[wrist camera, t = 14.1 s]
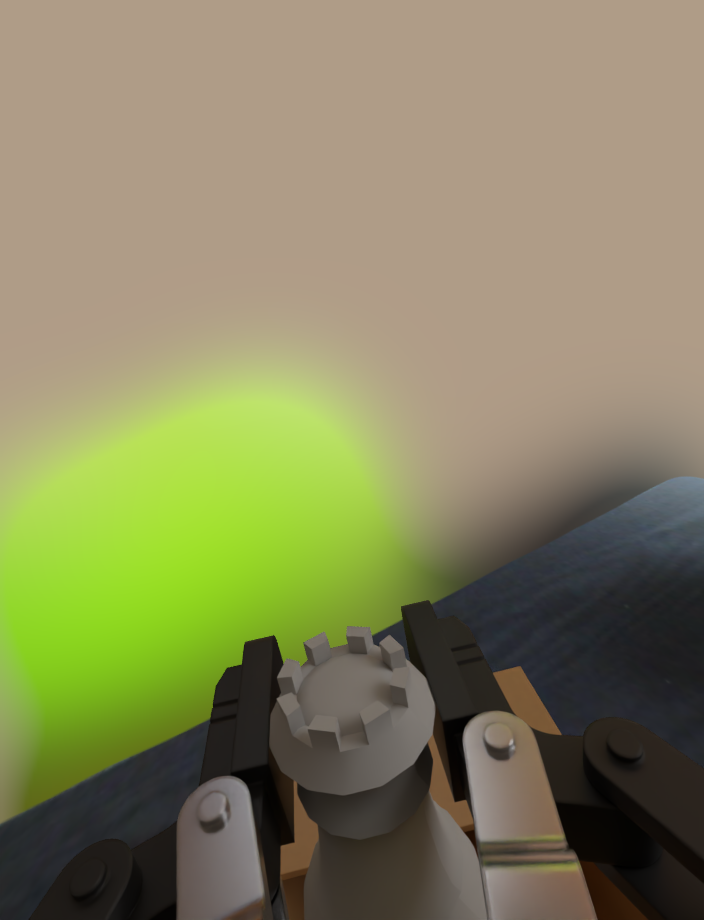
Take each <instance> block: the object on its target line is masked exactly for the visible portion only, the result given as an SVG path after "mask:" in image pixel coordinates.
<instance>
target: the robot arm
mask: <svg viewBox="0 0 704 920" xmlns="http://www.w3.org/2000/svg"><path fill="white" fill-rule="evenodd" d="M401 611H402V617H403V623H404V629H405V635H406V641H407V646H408V652H409V657H410V662H411V664H412V665H413V666H414V667H415V668H416V669H417V670H418V671H420V672H421V673H422V674H423V675H424V676H425V677H426V678H427V680H428V683H429V686H430V688H431V691H432V694H433V697H434V700H435V703H436V711H435V718H434V726H433V736H434V740H435V743H436V746H437V749H438V752H439V755H440V758H441V761H442V765H443V768H444V771H445V774H446V777H447V780H448V783H449V786H450V789H451V793H452V796H453V799H454V802H459V801H463V800H466V801H467V804H468V807H469V810H470V812H471V815H472V818H473V823H474V831H475V838H476V845H477V852H478V859H479V866H480V873H481V879H482V886H483V893H484V900H485V907H486V914H487V920H598V919H597V916H596V913H595V909H594V906H593V903H592V900H591V897H590V893H589V890H588V887H587V884H586V880H585V877H584V874H583V871H582V868H581V865H580V862H579V861H585V862H593V863H594V864H595V865H596V866H597V867H598V869H599V870H600V871H601V872H602V873H603V874H604V875H605V876H606V877H607V878H608V879H609V880H610V881H611V882H612V883H613V884H614V885H615V886H616V887H617V888H618V889H619V890H620V891H621V892H622V893H623V894H624V895H625V896H626V897H627V899H628V900H629V901H630V902H631V903H632V904H633V905H634V906H635V907H636V908H637V909H638V910H639V911H640V912H641V913H642V914H643V915H644V916H645V917H646V918H647V919H648V920H704V768H702V767H701V766H700V765H698V764H697V763H695V762H694V761H692V760H691V759H690V758H688V757H687V756H685V755H684V754H683V753H681V752H680V751H678V750H677V749H675V748H674V747H673V746H671V745H670V744H668V743H667V742H665V741H664V740H663V739H661V738H660V737H658V736H657V735H656V734H654V733H653V732H651V731H650V730H648V729H647V728H645V727H644V726H642V725H640V724H638V723H636V722H634V721H631V720H628V719H623V718H617V717H607V718H602V719H599V720H596V721H594V722H593V723H591V724H590V725H589V726H588V727H587V728H586V730H585V732H584V735H583V736H570V735H556V734H549V733H545V732H541V731H539V730H536V729H534V728H532V727H530V726H528V725H527V723H525V722H524V721H523V720H522V719H520V718H519V717H517V716H516V714H515V713H514V712H513V710H512V709H511V707H510V705H509V703H508V701H507V699H506V698H505V696H504V694H503V692H502V690H501V688H500V686H499V684H498V682H497V680H496V678H495V676H494V674H493V673H492V671H491V669H490V667H489V665H488V663H487V661H486V659H484V655H483V653H482V651H481V650H480V648H479V646H478V645H477V642H476V640H475V638H474V636H473V634H472V632H471V630H470V628H469V627H468V626H467V625H465V624H464V623H463V622H461V621H460V620H459V619H458V618H456V617H455V616H450V617H446V618H442V619H437V617H436V615H435V612H434V610H433V608H432V606H431V603H430V602H429V601H428V600H427V601H422V602H418V603H414V604H409V605H405V606H401ZM283 665H284V664H283V660H282V657H281V653H280V650H279V647H278V643H277V640H276V638H275V636H274V635H273V636H269V637H265V638H260V639H256V640H251V641H247V642H245V644H244V651H243V660H242V665H238V666H233V667H230V668H227V669H226V670H225V672H224V674H223V676H222V677H221V679H220V680H219V682H218V684H217V685H216V689H215V695H214V700H213V708H212V712H211V718H210V724H209V730H208V736H207V742H206V748H205V754H204V759H203V765H202V771H201V777H200V783H199V787H198V788H197V789H196V790H195V791H194V792H193V793H192V794H191V795H190V796H189V797H188V799H187V800H186V802H185V803H184V805H183V807H182V808H181V811H180V813H179V816H178V820H177V821H176V822H175V823H174V824H173V825H171V826H170V827H169V828H167V829H166V830H164V831H163V832H161V833H159V834H158V835H156V836H154V837H152V838H151V839H149V840H147V841H146V842H144V843H142V844H140V845H139V846H137V847H135V848H134V849H132V850H130V848H129V847H128V845H127V844H126V843H125V842H123V841H121V840H118V839H106V840H102V841H99V842H97V843H94V844H92V845H90V846H89V847H87V848H85V849H84V850H83V851H81V852H80V853H79V854H78V855H76V856H75V857H74V858H73V859H72V860H71V861H70V862H69V863H68V864H67V865H66V867H65V868H64V869H63V870H62V872H61V873H60V874H59V876H58V877H57V879H56V880H55V882H54V883H53V885H52V886H51V888H50V889H49V891H48V892H47V893H46V895H45V896H44V898H43V899H42V901H41V902H40V904H39V905H38V907H37V908H36V910H35V911H34V912H33V914H32V915H31V917H30V918H29V920H289V914H288V909H287V903H286V898H285V892H284V887H283V882H282V878H281V876H280V872H281V846H283V845H287V844H291V843H295V833H294V780H293V779H291V778H290V777H288V776H287V775H286V774H284V773H283V772H281V770H280V768H279V766H278V764H277V762H276V760H275V758H274V756H273V753H272V751H271V749H270V747H269V730H270V715H271V712H272V710H273V708H274V706H275V704H276V702H277V699H276V698H279V696H280V694H281V690H280V687H279V683H278V680H277V677H278V675H279V673H280V671H281V669H282V667H283Z"/></svg>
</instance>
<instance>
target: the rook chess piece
mask: <svg viewBox="0 0 704 920" xmlns="http://www.w3.org/2000/svg"><path fill="white" fill-rule="evenodd" d="M346 636H347V641H348V644H346V645H342V646H338V647H333V648H330V646H329V642H328V639H327V637H326V634H325V632H323V633H321V634H319V635H317V636H315V637H313V638H311V639H309V640H307V641H306V642H304V647H305V651H306V655H307V658H308V660H307V661H306V662H305V663H304V664H303V665H302V666H301V667H300V664H299V662H298V661H294V660H290V659H286V661H285V663H284V665H283V667H282V669H281V671H280V673H279V675H278V677H277V680H278V683H279V687H280V690H281V694H280V696H279V698H276V699H277V702H276V704H275V706H274V708H273V710H272V712H271V715H270V730H269V747H270V749H271V751H272V753H273V756H274V758H275V760H276V762H277V764H278V766H279V768H280V770H281V772H283V773H284V774H286V775H287V776H288V777H290V778H291V779H293V780H294V781H296V782H297V795H298V797H299V799H300V801H301V803H302V805H303V807H304V809H305V811H306V813H307V815H308V817H309V818H310V819H311V820H312V821H314V822H315V823H316V824H318V834H319V839H318V841H317V843H316V844H315V848H314V851H313V854H312V858H311V861H310V864H309V868H308V871H307V874H306V878H305V882H304V920H487V914H486V907H485V900H484V893H483V886H482V879H481V873H480V866H479V860H478V857H477V854H476V851H475V848H474V846H473V844H472V843H471V841H470V840H469V838H468V837H467V836H466V834H465V833H464V832H463V831H462V829H461V828H460V827H459V825H458V824H457V823H456V822H455V820H454V819H453V818H452V817H451V815H450V814H449V813H448V811H446V810H445V809H443V808H441V807H440V806H439V805H438V804H437V803H436V802H435V801H434V800H433V799H432V796H431V793H430V791H429V789H430V784H431V776H432V768H433V758H432V755H431V751H430V748H429V745H428V741H429V739H430V738H431V736H432V733H433V726H434V718H435V711H436V703H435V700H434V697H433V694H432V691H431V688H430V686H429V683H428V680H427V678H426V677H425V676H424V675H423V674H422V673H421V672H420V671H418V670H417V669H416V668H415V667H414V666H413V665H412V664H411V663H410V662H409V661H408V660H406V659H405V653H404V648H403V647H402V646H401V645H400V644H399V643H397V642H396V641H395V640H394V639H393V638H392V637H391V636H390V635H389V636H387V637H386V638H385V639H384V640H382V641H381V642H380V643H379V644H380V647H378V646H375V645H373V640H372V635H371V631H370V627H352V626H348V627H347V635H346Z"/></svg>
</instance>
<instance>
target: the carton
mask: <svg viewBox="0 0 704 920" xmlns="http://www.w3.org/2000/svg"><path fill="white" fill-rule="evenodd" d="M493 674H494V676H495V678H496V680H497V682H498V684H499V686H500V688H501V690H502V692H503V694H504V696H505V698H506V699H507V701H508V703H509V705H510V707H511V709H512V710H513V712H514V713H515V714H516V716H517V717H519V718H520V719H522V720H523V721H524V722H525V723H527V725H528V726H530V727H532V728H534V729H536V730H539V731H541V732H545V733H549V734H556V735H561V733H560V731H559V730H558V728H557V726H556V725H555V723H554V721H553V720H552V718H551V716H550V715H549V713H548V711H547V710H546V708H545V706H544V705H543V703H542V701H541V700H540V698H539V697H538V695H537V693H536V692H535V690H534V688H533V687H532V685H531V683H530V682H529V680H528V678H527V677H526V675H525V673H524V672H523V670H522V668H521V667H520V666H519V667H515V668H511V669H507V670H503V671H499V672H495V673H493ZM428 745H429V748H430V751H431V755H432V758H433V768H432V776H431V784H430V789H429V791H430V793H431V796H432V799H433V800H434V801H435V802H436V803H437V804H438V805H439V806H440V807H441V808H443V809H445V810H446V811H448V813H449V814H450V815H451V817H452V818H453V819H454V820H455V822H456V823H457V824H458V825H459V827H460V828H461V829H462V831H463V832H464V833H465V834H466V836H467V837H468V838H469V840H470V841H471V843H472V844H473V846H474V848H475V851H476V854H477V857H478V852H477V845H476V838H475V831H474V823H473V818H472V815H471V812H470V810H469V807H468V804H467V801H466V800H463V801H459V802H454V799H453V796H452V793H451V789H450V786H449V783H448V780H447V777H446V774H445V771H444V768H443V765H442V761H441V758H440V755H439V752H438V749H437V746H436V743H435V740H434V736H433V733H432V736H431V738H430V739H429V741H428ZM294 833H295V843H291V844H287V845H283V846H281V872H280V876H281V878H282V882H283V887H284V892H285V898H286V903H287V909H288V914H289V920H304V882H305V878H306V874H307V871H308V868H309V864H310V861H311V858H312V854H313V851H314V848H315V844H316V843H317V841H318V839H319V834H318V824H316V823H315V822H314V821H312V820H311V819H310V818H309V817H308V815H307V813H306V811H305V809H304V807H303V805H302V803H301V801H300V799H299V797H298V795H297V782H296V781H294ZM478 860H479V859H478ZM579 862H580V865H581V868H582V871H583V874H584V877H585V880H586V884H587V887H588V890H589V893H590V897H591V900H592V903H593V906H594V909H595V913H596V916H597V919H598V920H648V919H647V918H646V917H645V916H644V915H643V914H642V913H641V912H640V911H639V910H638V909H637V908H636V907H635V906H634V905H633V904H632V903H631V902H630V901H629V900H628V899H627V897H626V896H625V895H624V894H623V893H622V892H621V891H620V890H619V889H618V888H617V887H616V886H615V885H614V884H613V883H612V882H611V881H610V880H609V879H608V878H607V877H606V876H605V875H604V874H603V873H602V872H601V871H600V870H599V869H598V867H597V866H596V865H595V864H594V863H593V862H585V861H579Z"/></svg>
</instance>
